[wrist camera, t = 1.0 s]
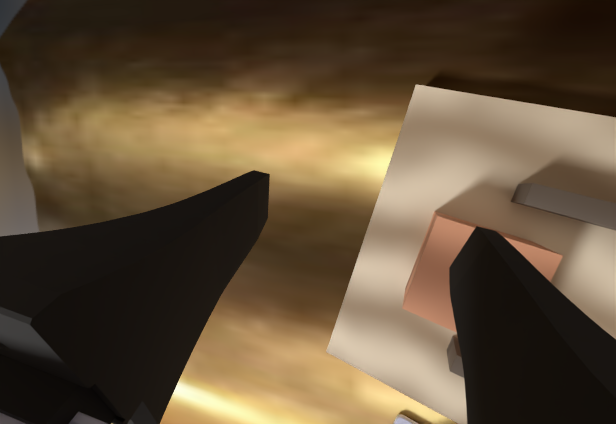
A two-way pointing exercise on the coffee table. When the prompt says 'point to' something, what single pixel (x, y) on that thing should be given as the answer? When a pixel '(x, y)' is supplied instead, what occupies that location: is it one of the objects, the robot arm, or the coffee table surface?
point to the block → (440, 255)
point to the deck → (483, 211)
